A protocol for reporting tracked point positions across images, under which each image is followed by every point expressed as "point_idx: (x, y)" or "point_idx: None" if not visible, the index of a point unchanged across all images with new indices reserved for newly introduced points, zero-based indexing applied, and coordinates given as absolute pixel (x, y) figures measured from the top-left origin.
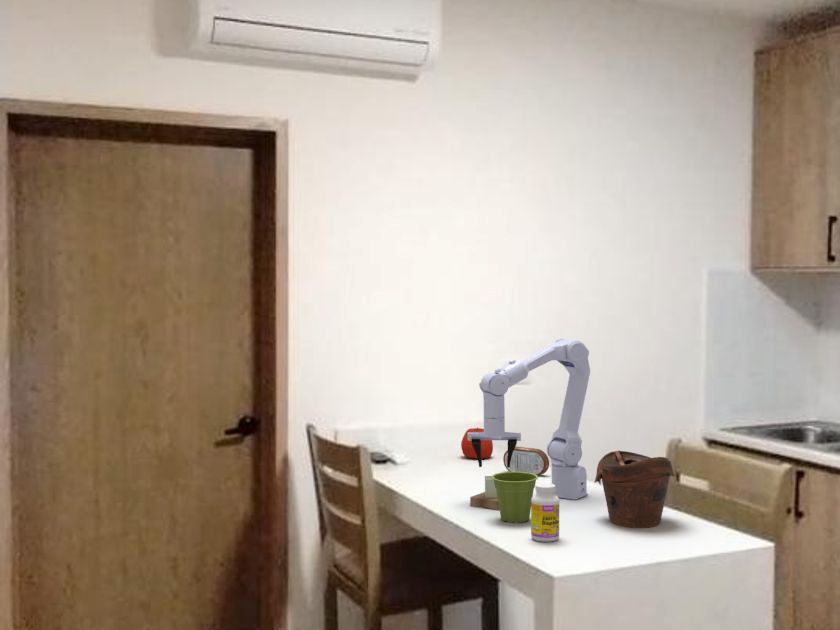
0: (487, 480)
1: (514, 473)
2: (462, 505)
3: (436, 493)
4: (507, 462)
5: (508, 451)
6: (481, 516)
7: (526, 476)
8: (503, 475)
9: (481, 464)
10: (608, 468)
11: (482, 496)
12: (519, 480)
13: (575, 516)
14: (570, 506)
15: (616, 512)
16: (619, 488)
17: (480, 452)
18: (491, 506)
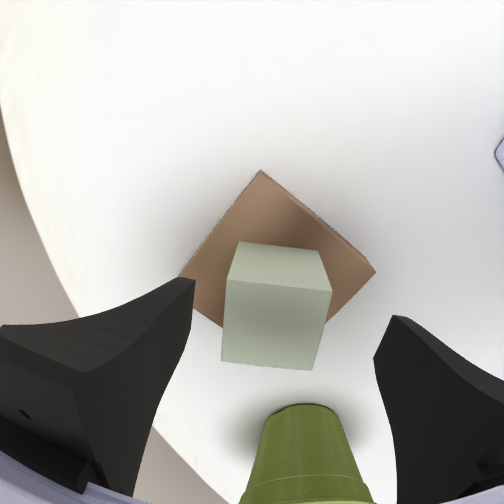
0: (233, 358)
1: (328, 500)
2: (151, 257)
3: (72, 53)
4: (380, 388)
5: (402, 464)
6: (213, 393)
7: (363, 498)
8: (280, 500)
9: (185, 344)
10: None
11: (222, 287)
12: (341, 482)
13: None
14: (499, 304)
15: None
16: None
17: (150, 427)
18: None
